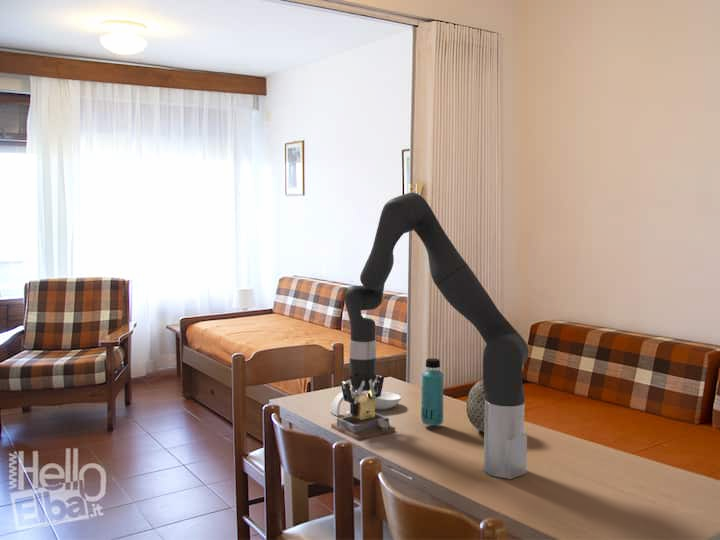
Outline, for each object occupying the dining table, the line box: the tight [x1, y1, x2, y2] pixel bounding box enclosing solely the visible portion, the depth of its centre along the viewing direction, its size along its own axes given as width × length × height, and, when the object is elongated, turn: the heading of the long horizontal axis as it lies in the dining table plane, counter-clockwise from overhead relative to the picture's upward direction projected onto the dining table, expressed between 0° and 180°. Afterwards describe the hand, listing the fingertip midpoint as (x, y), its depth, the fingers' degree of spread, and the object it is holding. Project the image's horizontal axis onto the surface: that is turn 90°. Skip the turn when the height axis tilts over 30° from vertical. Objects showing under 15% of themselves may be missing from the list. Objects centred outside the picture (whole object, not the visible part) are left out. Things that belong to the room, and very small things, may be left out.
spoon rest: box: [329, 388, 402, 417], centre depth 207 cm, size 24×12×7 cm, turn 121°
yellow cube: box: [350, 396, 376, 420], centre depth 188 cm, size 5×5×5 cm
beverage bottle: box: [420, 357, 445, 426], centre depth 190 cm, size 6×7×20 cm
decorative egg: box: [466, 379, 485, 433], centre depth 186 cm, size 12×12×15 cm
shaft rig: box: [330, 410, 396, 441], centre depth 188 cm, size 15×13×4 cm
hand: (362, 413), depth 188 cm, fingers closed on yellow cube, 5 cm apart
